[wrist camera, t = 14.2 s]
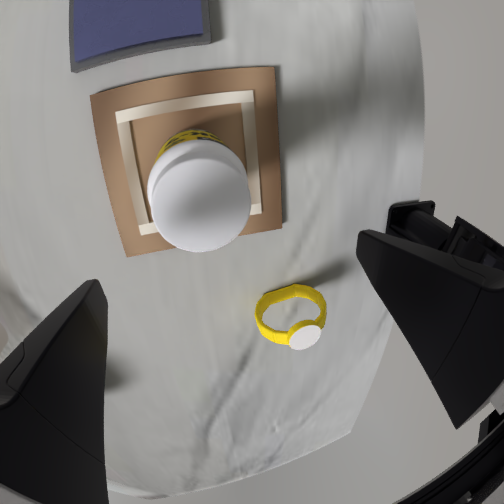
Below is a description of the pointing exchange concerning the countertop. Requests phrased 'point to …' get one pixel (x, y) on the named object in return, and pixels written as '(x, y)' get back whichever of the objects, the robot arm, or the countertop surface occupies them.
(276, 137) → the marked board
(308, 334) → the watch
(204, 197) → the supplement bottle
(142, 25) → the ink pad
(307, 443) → the countertop surface
